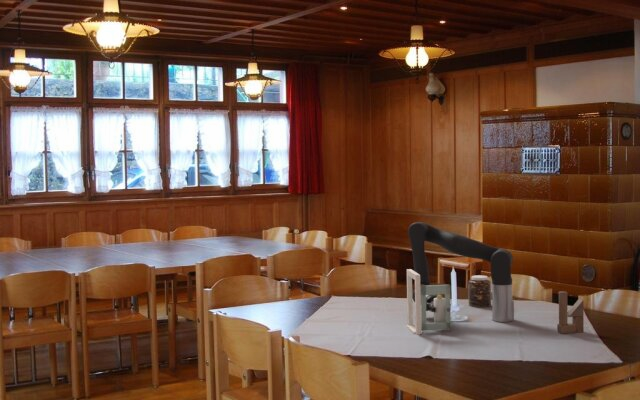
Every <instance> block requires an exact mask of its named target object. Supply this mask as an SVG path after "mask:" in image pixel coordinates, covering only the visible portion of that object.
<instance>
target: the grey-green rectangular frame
mask: <svg viewBox="0 0 640 400" xmlns="http://www.w3.org/2000/svg"><path fill="white" fill-rule="evenodd" d="M420 289H421V331H422V332H423V331H440V330H442V331H444V330H451V327H452V325H451V323H452V322H451V319H452V317H451V310H450V304H451V284H432V285H428V286H425V285H420ZM426 295H436V296H438V295H444V298H445V322H439V323H434V322H427V311H426Z"/></svg>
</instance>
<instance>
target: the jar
mask: <svg viewBox="0 0 640 400" xmlns="http://www.w3.org/2000/svg"><path fill="white" fill-rule="evenodd" d="M467 285H468V287H467V289H468V290H467V291H468V293H467V294H468V296H467V298H468V300H467V301H468V303H467V304H468V306H470V307H474V308H489V307H492V280H490V279H489V277H488V276H487V275H481V274H478V275H472V276H471V277H470V279H469V280H468V284H467Z"/></svg>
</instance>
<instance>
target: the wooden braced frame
mask: <svg viewBox="0 0 640 400" xmlns="http://www.w3.org/2000/svg"><path fill="white" fill-rule="evenodd" d="M584 307H585V305H584V299H581V298H578V299H577V300H576V302H575V303H574V304H573V305H572V306H571V308H570V309H569V310H568V292H567V291H566V290H565V291H563V290H562V291H560V290H559V291H558V324H557V325H556V327H557V328H556V329H557V333H559V334H561V335H565V334H576V333H578V334H579V333H584V327H585V325H584V320H585V319H584V316H585V315H584V314H585V312H584ZM568 318H571V319H572V320H571V321H572V323H569V322H568Z"/></svg>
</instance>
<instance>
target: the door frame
mask: <svg viewBox="0 0 640 400" xmlns="http://www.w3.org/2000/svg"><path fill="white" fill-rule="evenodd" d="M413 280H414V290H415V302H414V303H415V304H414V307H413V298H412V293H413ZM420 289H421V284H420V275H419V274H418V273H416V272H415V271H414V269H411V268H409V269H408V268H406V305H407V306H406V309H407V311H406V312H407V313H406V314H407V325H406V328H407V329H408V330H409V332H411V333H412V334H413V335H416V336H418V335H419V336H420V334H421V335H422V334H423V331H422V330H421V292H420ZM413 308H415V309H414V310H415V320H414V316H413V315H414V314H413V313H414V311H413ZM414 321H415V324H414Z"/></svg>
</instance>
